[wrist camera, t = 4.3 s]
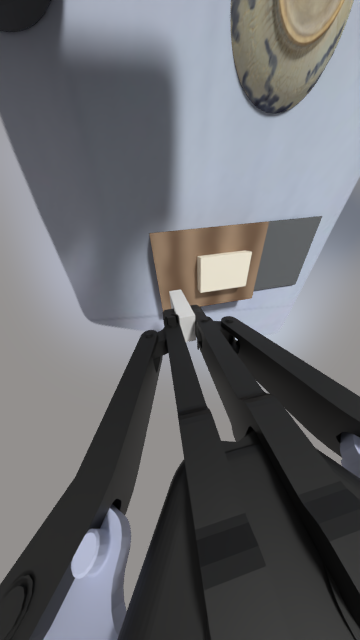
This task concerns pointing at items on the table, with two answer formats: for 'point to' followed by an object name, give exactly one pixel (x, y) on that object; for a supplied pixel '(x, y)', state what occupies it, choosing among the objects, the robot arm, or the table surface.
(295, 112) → the table surface
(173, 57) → the table surface
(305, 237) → the mat
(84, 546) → the robot arm
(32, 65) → the table surface
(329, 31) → the decorative bowl
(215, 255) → the tile
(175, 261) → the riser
